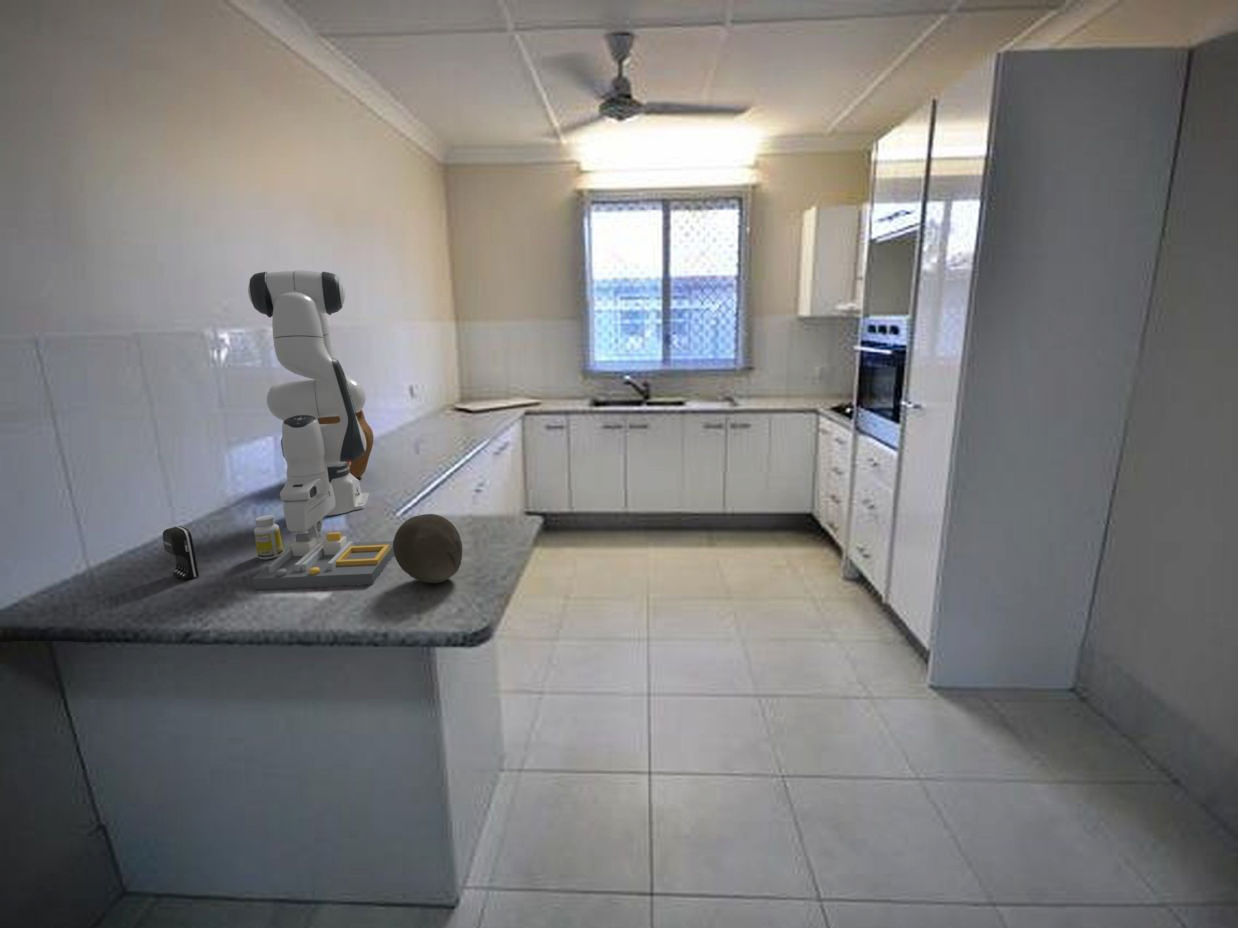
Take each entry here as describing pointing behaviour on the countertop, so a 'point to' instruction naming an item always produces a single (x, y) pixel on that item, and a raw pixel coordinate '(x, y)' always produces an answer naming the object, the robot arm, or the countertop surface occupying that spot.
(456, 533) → the dark brown ball
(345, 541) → the breaker
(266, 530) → the supplement bottle
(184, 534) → the black electronic device
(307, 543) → the breaker
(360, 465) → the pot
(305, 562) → the breaker panel
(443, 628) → the countertop surface
